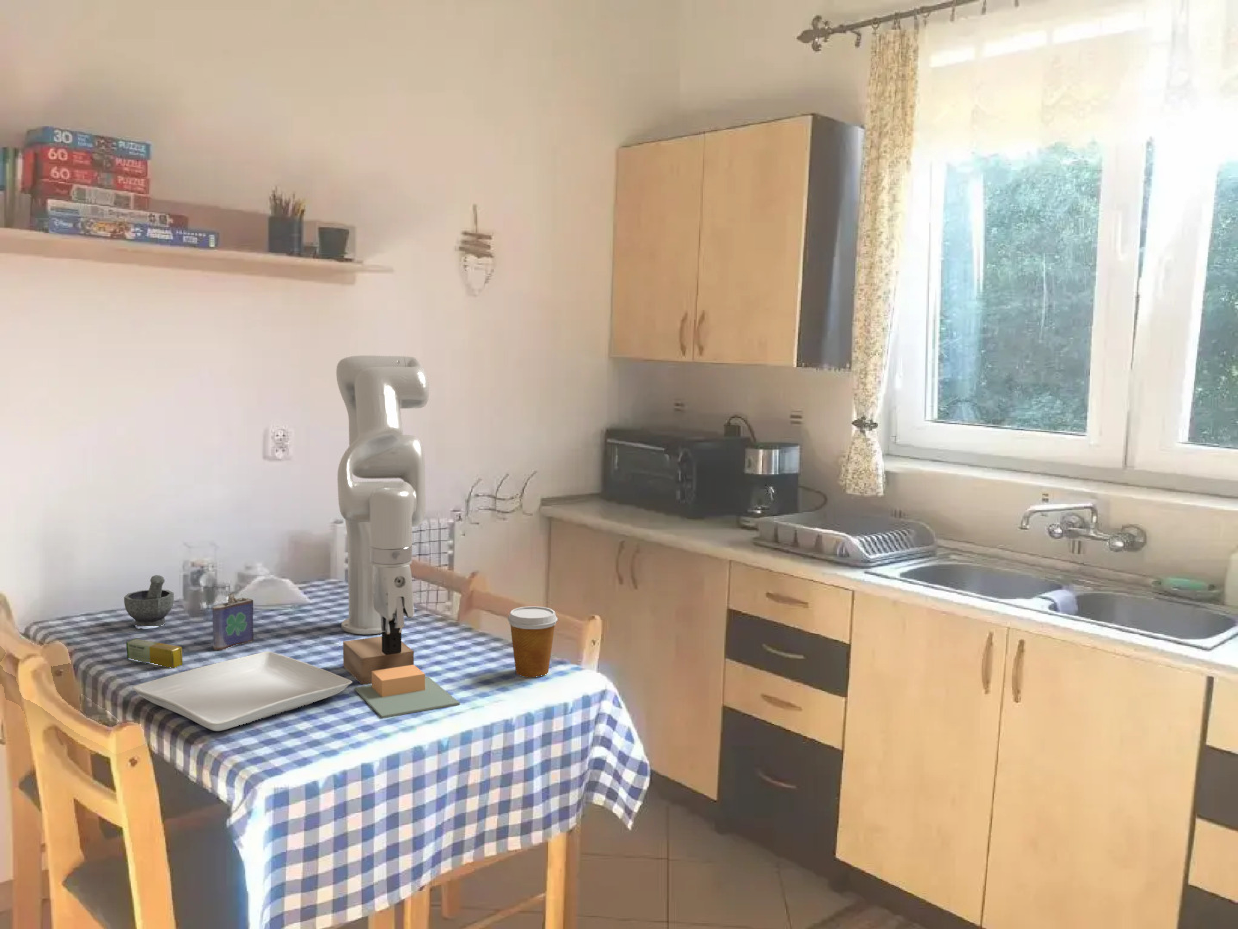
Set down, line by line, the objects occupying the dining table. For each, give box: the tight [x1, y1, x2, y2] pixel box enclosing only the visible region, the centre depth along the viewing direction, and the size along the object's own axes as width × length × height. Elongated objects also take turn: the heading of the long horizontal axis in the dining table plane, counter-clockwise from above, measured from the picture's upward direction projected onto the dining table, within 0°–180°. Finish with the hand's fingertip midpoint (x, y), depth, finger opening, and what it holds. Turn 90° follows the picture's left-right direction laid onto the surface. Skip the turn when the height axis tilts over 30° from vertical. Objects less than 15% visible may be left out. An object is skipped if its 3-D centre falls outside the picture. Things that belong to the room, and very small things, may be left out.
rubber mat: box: [353, 675, 461, 719], centre depth 185 cm, size 14×16×1 cm
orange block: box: [371, 664, 426, 697], centre depth 188 cm, size 8×6×3 cm
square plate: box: [131, 650, 353, 732], centre depth 182 cm, size 27×27×4 cm
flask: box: [211, 593, 254, 651], centre depth 213 cm, size 9×3×11 cm, turn 146°
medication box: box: [125, 638, 184, 669], centre depth 201 cm, size 12×3×4 cm, turn 68°
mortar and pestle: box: [123, 574, 175, 626], centre depth 225 cm, size 11×9×12 cm
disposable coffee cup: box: [507, 605, 558, 678], centre depth 199 cm, size 10×10×12 cm
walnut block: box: [342, 635, 415, 686], centre depth 198 cm, size 10×12×5 cm
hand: (391, 652), depth 191 cm, fingers closed
